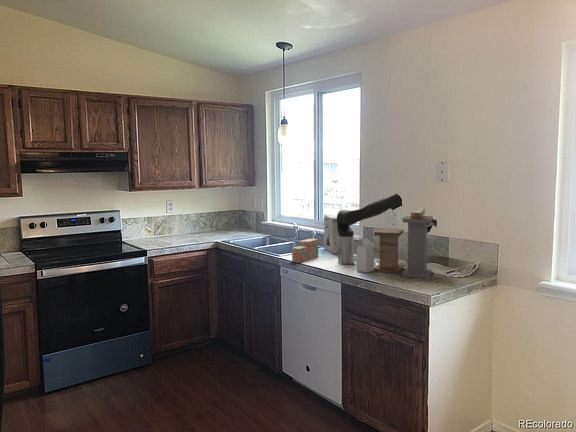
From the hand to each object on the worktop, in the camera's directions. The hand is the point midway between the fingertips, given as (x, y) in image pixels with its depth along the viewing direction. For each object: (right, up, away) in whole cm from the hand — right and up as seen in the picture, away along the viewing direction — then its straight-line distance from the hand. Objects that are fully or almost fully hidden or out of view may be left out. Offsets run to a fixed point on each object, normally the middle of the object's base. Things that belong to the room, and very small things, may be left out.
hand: (423, 218), depth 276 cm
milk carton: (-36, -31, -7) cm, 48 cm away
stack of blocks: (-70, -28, +27) cm, 80 cm away
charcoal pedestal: (-9, -31, -18) cm, 37 cm away
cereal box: (-49, -24, +52) cm, 75 cm away
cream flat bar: (-7, +1, -16) cm, 17 cm away
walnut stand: (-22, -30, -6) cm, 38 cm away
